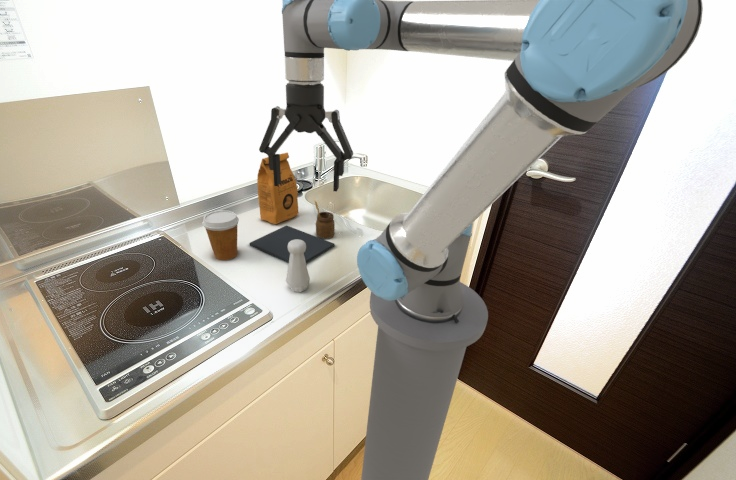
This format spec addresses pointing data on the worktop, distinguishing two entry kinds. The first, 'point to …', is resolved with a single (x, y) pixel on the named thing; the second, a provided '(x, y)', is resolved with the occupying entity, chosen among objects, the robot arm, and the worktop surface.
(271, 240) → the mat
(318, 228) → the brown jar with stick
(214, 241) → the disposable coffee cup
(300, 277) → the salt shaker
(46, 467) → the worktop surface
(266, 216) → the coffee package
